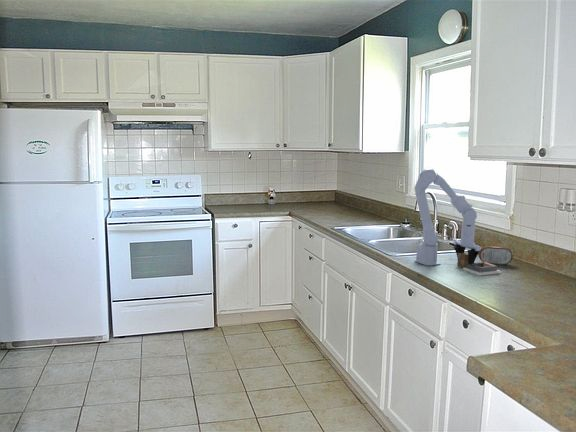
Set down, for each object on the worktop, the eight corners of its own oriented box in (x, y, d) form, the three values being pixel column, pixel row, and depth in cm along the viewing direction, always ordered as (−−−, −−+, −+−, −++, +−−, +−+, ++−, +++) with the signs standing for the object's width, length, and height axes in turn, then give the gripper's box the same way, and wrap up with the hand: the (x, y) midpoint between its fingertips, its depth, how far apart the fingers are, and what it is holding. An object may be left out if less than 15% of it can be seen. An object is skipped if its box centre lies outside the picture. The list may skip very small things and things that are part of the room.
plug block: (457, 265, 247) (458, 253, 246) (467, 264, 250) (468, 252, 249) (463, 268, 244) (464, 255, 243) (473, 266, 246) (474, 254, 245)
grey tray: (462, 269, 240) (463, 263, 239) (483, 267, 245) (483, 261, 244) (479, 275, 231) (479, 268, 230) (500, 273, 236) (500, 266, 235)
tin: (511, 264, 253) (512, 246, 252) (512, 265, 250) (514, 248, 249) (477, 262, 256) (478, 244, 254) (478, 263, 253) (480, 246, 251)
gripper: (486, 236, 240) (484, 266, 242) (463, 230, 253) (461, 259, 255) (474, 237, 237) (471, 267, 239) (451, 231, 250) (449, 260, 252)
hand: (465, 263), depth 247 cm, fingers open, 6 cm apart
